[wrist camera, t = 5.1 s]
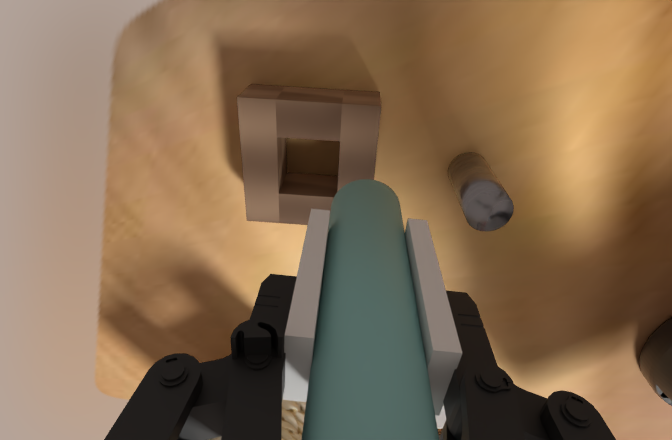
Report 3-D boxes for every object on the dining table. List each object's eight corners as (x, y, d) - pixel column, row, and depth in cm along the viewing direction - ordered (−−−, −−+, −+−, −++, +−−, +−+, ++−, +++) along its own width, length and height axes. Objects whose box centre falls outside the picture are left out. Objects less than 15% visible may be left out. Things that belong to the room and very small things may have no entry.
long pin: (393, 242, 20) (445, 664, 8) (328, 235, 19) (276, 646, 8) (406, 183, 18) (497, 606, 6) (334, 175, 18) (280, 584, 6)
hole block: (368, 205, 36) (368, 229, 33) (257, 197, 36) (246, 220, 33) (379, 92, 31) (381, 106, 28) (250, 84, 31) (236, 97, 28)
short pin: (482, 188, 35) (506, 232, 29) (444, 186, 35) (461, 229, 29) (491, 153, 33) (519, 193, 27) (452, 151, 33) (471, 189, 27)
